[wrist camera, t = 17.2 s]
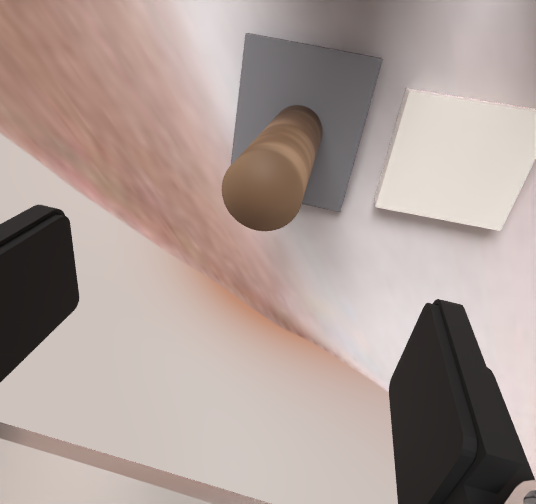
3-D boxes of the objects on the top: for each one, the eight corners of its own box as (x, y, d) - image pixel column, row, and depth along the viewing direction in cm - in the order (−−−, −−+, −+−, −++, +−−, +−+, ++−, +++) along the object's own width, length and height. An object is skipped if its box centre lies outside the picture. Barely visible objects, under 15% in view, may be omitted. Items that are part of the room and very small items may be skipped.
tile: (556, 115, 27) (409, 91, 28) (500, 230, 31) (375, 207, 32) (542, 109, 29) (405, 87, 30) (491, 219, 33) (373, 197, 34)
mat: (381, 58, 29) (382, 59, 28) (340, 206, 35) (340, 212, 34) (249, 33, 29) (245, 33, 28) (231, 182, 36) (228, 187, 35)
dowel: (327, 110, 30) (310, 163, 18) (316, 161, 32) (293, 238, 20) (276, 100, 30) (226, 145, 18) (268, 150, 32) (218, 221, 20)
